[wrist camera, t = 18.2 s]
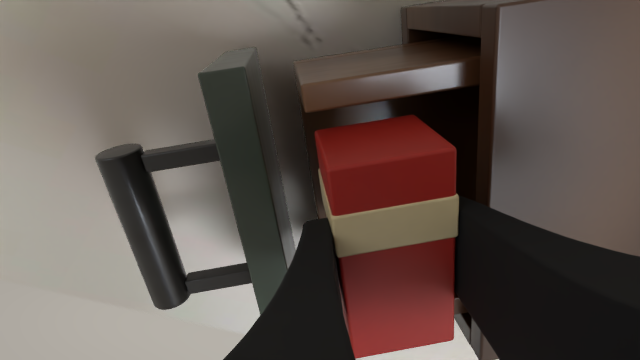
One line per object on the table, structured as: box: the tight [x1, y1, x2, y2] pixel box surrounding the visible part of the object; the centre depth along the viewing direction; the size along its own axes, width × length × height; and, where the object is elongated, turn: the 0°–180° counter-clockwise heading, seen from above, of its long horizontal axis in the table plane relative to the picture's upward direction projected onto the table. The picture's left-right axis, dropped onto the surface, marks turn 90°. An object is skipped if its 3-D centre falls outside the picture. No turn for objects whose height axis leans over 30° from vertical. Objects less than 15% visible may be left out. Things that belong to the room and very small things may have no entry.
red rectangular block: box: [314, 115, 459, 358], centre depth 11 cm, size 6×3×3 cm, turn 8°
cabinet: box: [401, 0, 640, 360], centre depth 15 cm, size 14×12×8 cm
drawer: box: [95, 35, 481, 315], centre depth 15 cm, size 17×10×6 cm, turn 98°
